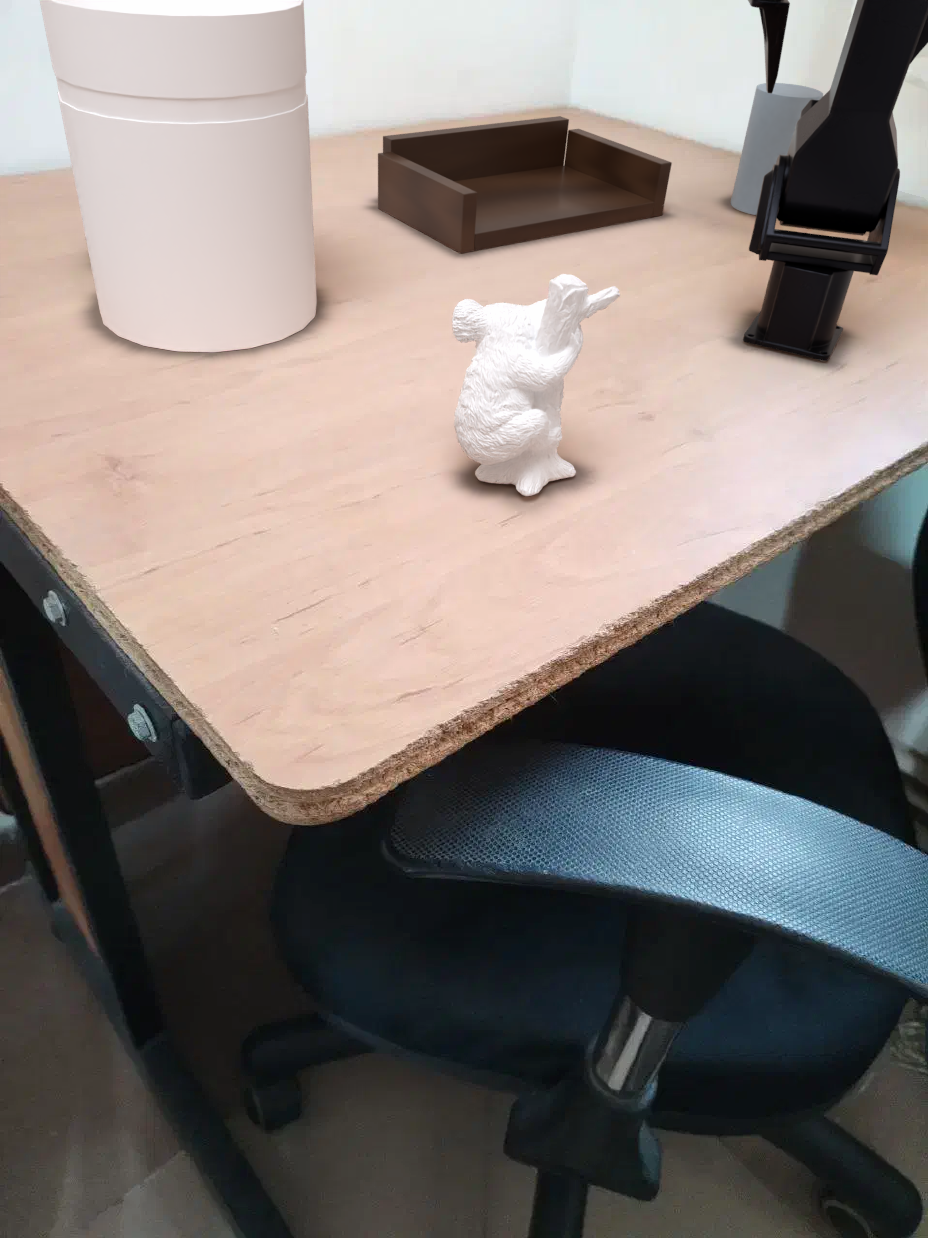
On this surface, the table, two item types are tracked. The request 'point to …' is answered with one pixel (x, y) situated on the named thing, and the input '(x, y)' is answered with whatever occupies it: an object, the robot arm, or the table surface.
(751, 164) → the pale blue cylinder
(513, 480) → the koala figurine
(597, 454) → the table surface
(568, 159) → the tray
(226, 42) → the canister
